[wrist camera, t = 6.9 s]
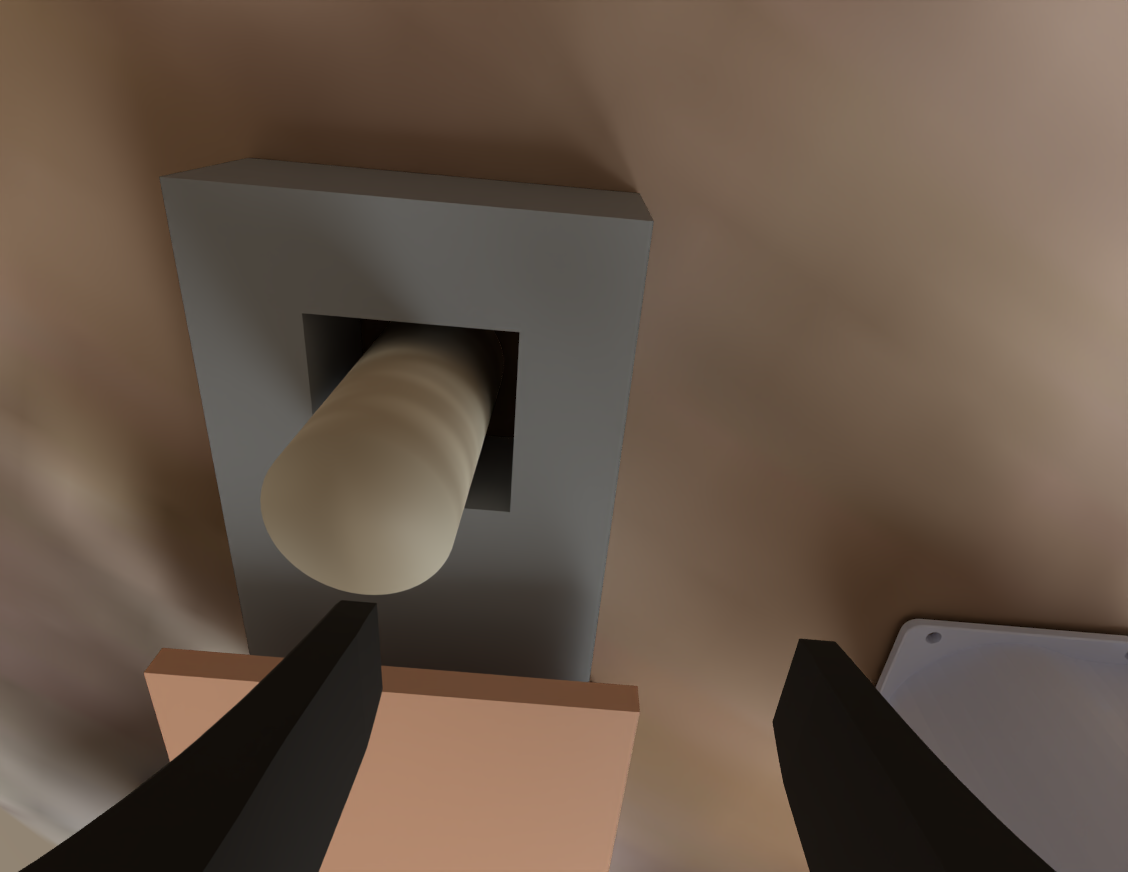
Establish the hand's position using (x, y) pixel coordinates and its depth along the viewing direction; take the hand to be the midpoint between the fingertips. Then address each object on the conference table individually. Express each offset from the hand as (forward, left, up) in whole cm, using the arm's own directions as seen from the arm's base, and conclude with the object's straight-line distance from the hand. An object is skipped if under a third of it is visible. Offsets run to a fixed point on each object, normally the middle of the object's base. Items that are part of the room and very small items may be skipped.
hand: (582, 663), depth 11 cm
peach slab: (+4, +9, -10) cm, 14 cm away
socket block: (+4, 0, -10) cm, 11 cm away
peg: (+4, -1, -10) cm, 11 cm away
